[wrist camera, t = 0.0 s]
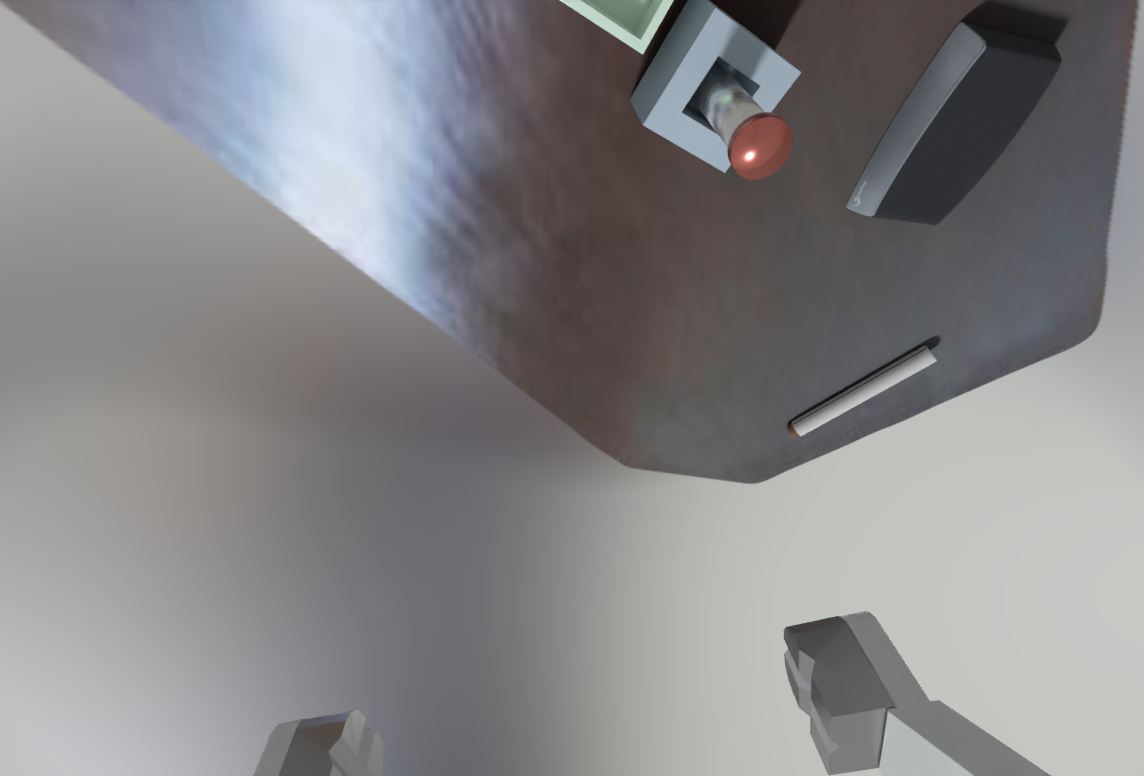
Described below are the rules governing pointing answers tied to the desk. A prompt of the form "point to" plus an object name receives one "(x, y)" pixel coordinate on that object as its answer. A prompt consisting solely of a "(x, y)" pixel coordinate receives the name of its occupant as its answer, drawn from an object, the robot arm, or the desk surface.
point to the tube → (862, 391)
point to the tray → (625, 18)
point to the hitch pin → (743, 125)
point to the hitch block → (686, 64)
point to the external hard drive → (954, 124)
